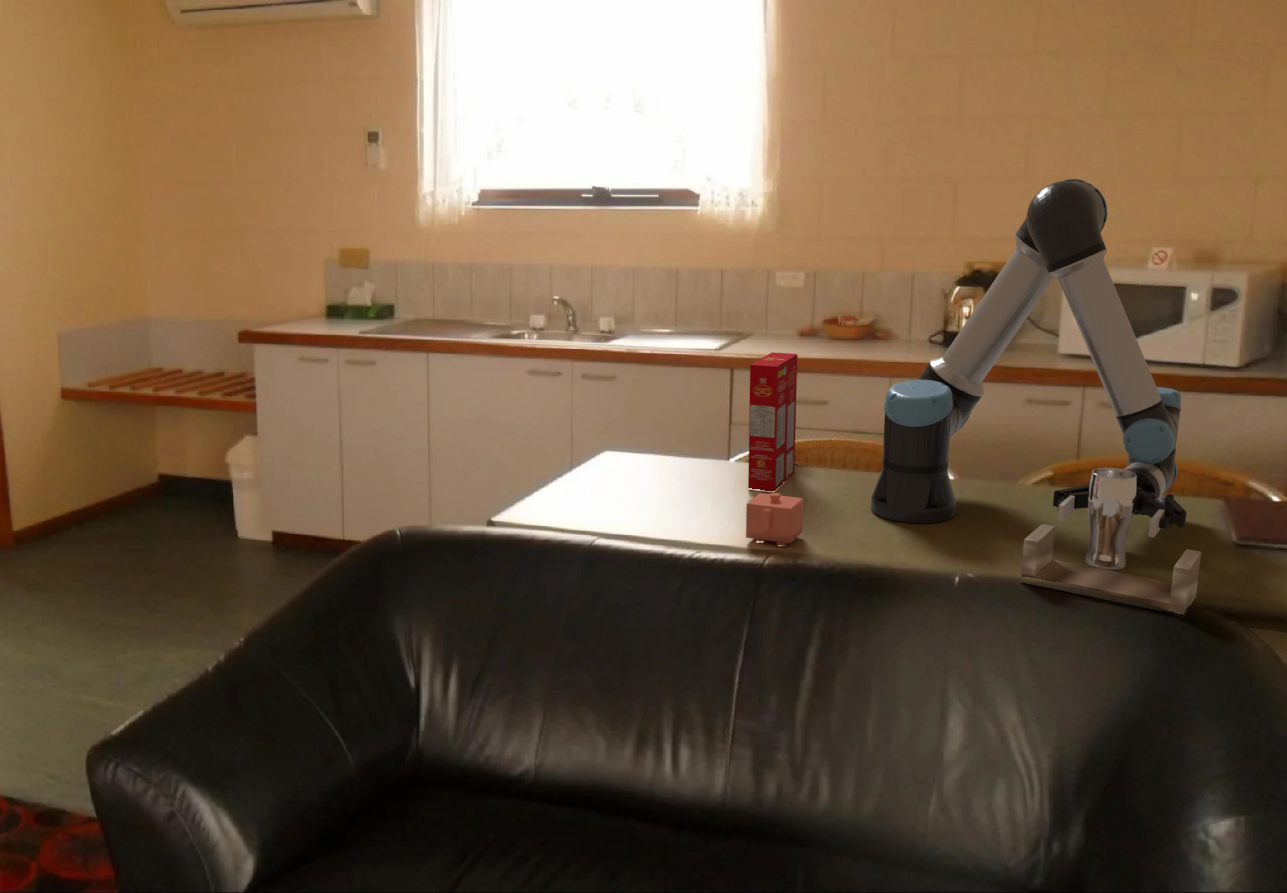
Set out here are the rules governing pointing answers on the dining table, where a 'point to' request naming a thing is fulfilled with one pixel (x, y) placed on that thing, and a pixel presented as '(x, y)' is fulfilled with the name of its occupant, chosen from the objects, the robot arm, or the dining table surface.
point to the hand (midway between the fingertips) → (1105, 521)
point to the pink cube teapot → (774, 518)
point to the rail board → (1112, 575)
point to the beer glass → (1110, 516)
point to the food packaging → (772, 420)
